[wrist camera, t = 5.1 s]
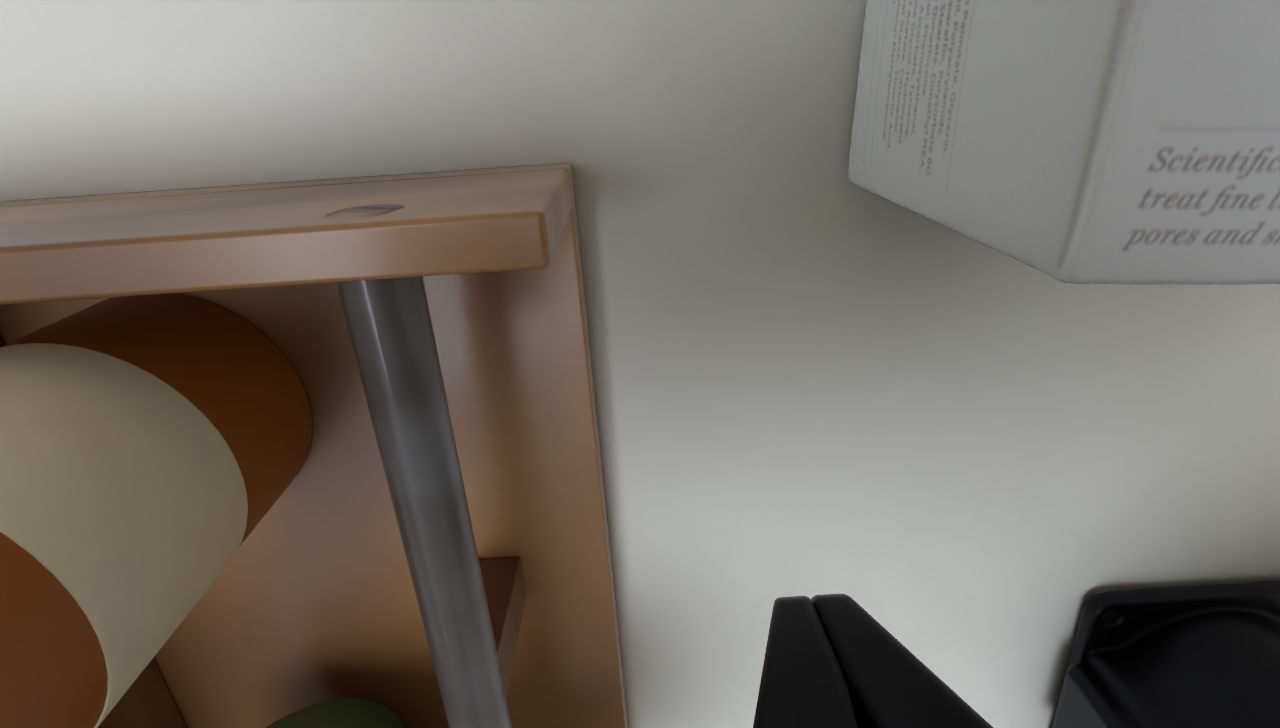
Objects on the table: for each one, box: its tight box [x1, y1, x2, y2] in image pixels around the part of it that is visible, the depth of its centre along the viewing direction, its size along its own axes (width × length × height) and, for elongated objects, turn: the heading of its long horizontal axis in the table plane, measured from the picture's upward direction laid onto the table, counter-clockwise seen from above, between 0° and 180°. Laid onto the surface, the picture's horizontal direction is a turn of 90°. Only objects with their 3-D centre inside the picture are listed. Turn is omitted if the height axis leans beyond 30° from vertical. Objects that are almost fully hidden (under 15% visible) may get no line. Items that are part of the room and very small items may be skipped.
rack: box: [0, 163, 628, 728], centre depth 15 cm, size 12×19×5 cm, turn 4°
